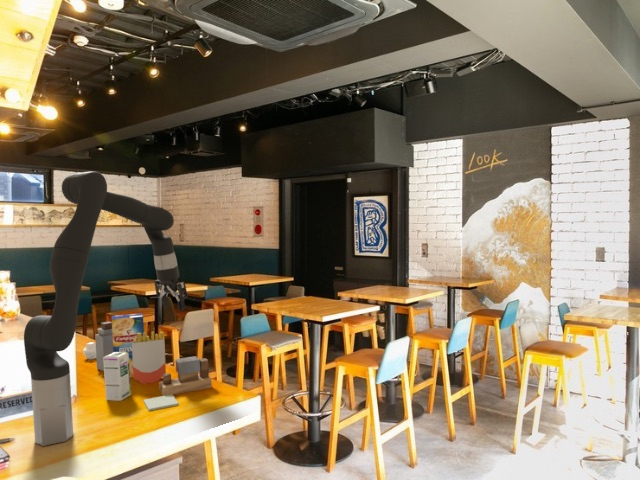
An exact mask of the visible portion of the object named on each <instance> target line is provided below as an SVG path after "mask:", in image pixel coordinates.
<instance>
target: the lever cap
mask: <svg viewBox="0 0 640 480" xmlns="http://www.w3.org/2000/svg"><path fill="white" fill-rule="evenodd" d="M199 359H200V358H198V357H197V355H196V356H194V355H193V356H189V357H188V356H187V357H182V358H175V359H174V360H175V361H174V363H175V372H176V373H177V375H178V374H179V375H181V374H187V373H193V372H198V373H199V371H200V360H199Z"/></svg>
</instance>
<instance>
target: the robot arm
mask: <svg viewBox="0 0 640 480" xmlns="http://www.w3.org/2000/svg"><path fill="white" fill-rule="evenodd" d="M107 183H108V182H107V180H106V178H105V176H104V175H103V174H102V173H100V172H99V171H83V172H76V173H73V174H70V175H67V176H66V177H65V178H64V179H63V181H62V183H61V192H62V194H63V197H64V198H65V199H66V200H67V201H68V202H70V203H71V204H75V205H76V209H75V211H74V213H73V216H72V218H71V219H70V221H69V222H68V224H67V225H66V226H65V228H64V229H63V230H62V231H61V233H60V234H59V236H58V238H57V239H56V241H55V242H54V246H53V249H52V252H51V257H50V260H49V265H48V266H49V274H50V278H51V280H52V285H53V288H54V290H55V300H54V301H55V302H54V307H53V310H52V314H51V315H36V316H33V317H32V318H30V319H29V321H28V322H27V323H26V324H25V325H26V326H25V327H24V332H23V345H24V353H25V361H26V367H27V369H28V371H29V372H30V382H31V397H32V401H31V402H32V416H33V417H32V418H33V430H34V442H35V444H37V445H40V446H41V447H46V446H50V445H55V444H59V443H64V442H68V441H69V439H71V438H72V436H73V435H74V424H73V423H74V422H73V406H72V404H73V403H72V390H71V389H72V388H71V370H70V363H69V361H68V360H67V359H64V358H63V357H61V356H60V355H59V353H58V352H62V351H65V350H67V348H68V347H69V346H70V345H71V344H72V342H73V339H74V337H75V332H76V327H77V320H78V318H77V317H78V312H79V311H78V310H79V303H80V297H81V291H82V287H83V282H84V277H85V273H86V269H87V265H88V262H89V258H90V252H91V247H92V243H93V239H94V237H95V231H96V228H97V224H98V220H99V218H100V216H101V215H100V214H101V212H102V211H105V212H108V213H110V214H114V215H117V216H119V217H122V218H124V219H127V220H129V221H132V222H134V223H137V224H142V226H143V229H144V231H145V233H146V235H147V237H148V239H149V242H150V243H151V248H152V253H153V261H154V262H153V263H154V267H155V273H156V278H157V279H156V280H154V289H155V294H156V296H157V297H159V298H160V300H161V305H162V308H163V309H164V308H165V309H166V308H169V306H170V303H169V298H168V294H169V295H172V296H173V297H175V298H176V301H177V307H178V311H181V312H182V311H184V310H185V309H186V305H185V299H188V298H189V296H188V291H187V287H186V286H187V285H186V282H185V281H182V282H179V280H178V279H179V278H180V271H179V268H178V267H179V265H178V260H177V256H176V252H175V247H174V242H173V239H172V237H171V236H169V235H166V234H164V232H163V231H168V230H169V229H171V228H173V226H174V224H175V223H174V222H175V219H174V216H173V214H172V213H171V212H170V211H169V210H168V209H165V208H162V207H158V206H155V205H150V204H147V203H145V202H143V201H141V200H138V199H137V198H135V197H131V196H128V195H125V194H119V193H115V192H110V191H108V184H107Z"/></svg>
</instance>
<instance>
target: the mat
mask: <svg viewBox="0 0 640 480" xmlns="http://www.w3.org/2000/svg"><path fill="white" fill-rule="evenodd" d="M143 404H144V405H145V406H146V409H147V411H148V412H150V411H155V410H156V411H157V410H159V409H160V410H161V409H165V408H170V407H174V406H179V405H180V404H179V401H177V399H176V398H175V396H174V395H172V394H171V395H166V396H163V395H161V396H156V397H151V398H145V399H143Z"/></svg>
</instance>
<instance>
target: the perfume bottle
mask: <svg viewBox="0 0 640 480" xmlns="http://www.w3.org/2000/svg"><path fill="white" fill-rule="evenodd" d="M100 326H101V327H99V328H97V329H96V330H97V332H98V333H97V334H96V333H95V334H94V338H95V339H94V340H95V341H94V343H95V345H96V358H95V359H96V369H97V370H99V371H101V370H102V371H101V372H104V362H103V357H105V356H107V355H109V354H112V353H113V334H112V321H103V322H100Z"/></svg>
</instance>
